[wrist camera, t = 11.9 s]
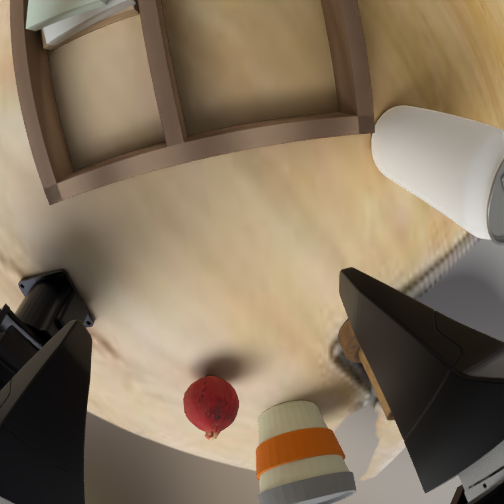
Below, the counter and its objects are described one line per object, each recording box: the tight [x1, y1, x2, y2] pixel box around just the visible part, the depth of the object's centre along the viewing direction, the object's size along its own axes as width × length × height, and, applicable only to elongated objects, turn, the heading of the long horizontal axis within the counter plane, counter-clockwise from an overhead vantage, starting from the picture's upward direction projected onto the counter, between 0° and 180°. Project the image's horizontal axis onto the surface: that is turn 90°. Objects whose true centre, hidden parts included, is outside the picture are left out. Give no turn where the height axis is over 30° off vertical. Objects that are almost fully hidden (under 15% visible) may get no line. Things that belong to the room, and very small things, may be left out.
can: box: [371, 105, 504, 245], centre depth 15 cm, size 6×6×12 cm
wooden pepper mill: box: [338, 320, 395, 420], centre depth 23 cm, size 7×6×18 cm
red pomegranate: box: [183, 376, 239, 440], centre depth 28 cm, size 6×6×8 cm
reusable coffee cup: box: [256, 401, 356, 504], centre depth 32 cm, size 13×13×15 cm
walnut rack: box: [10, 0, 375, 205], centre depth 13 cm, size 22×19×3 cm
